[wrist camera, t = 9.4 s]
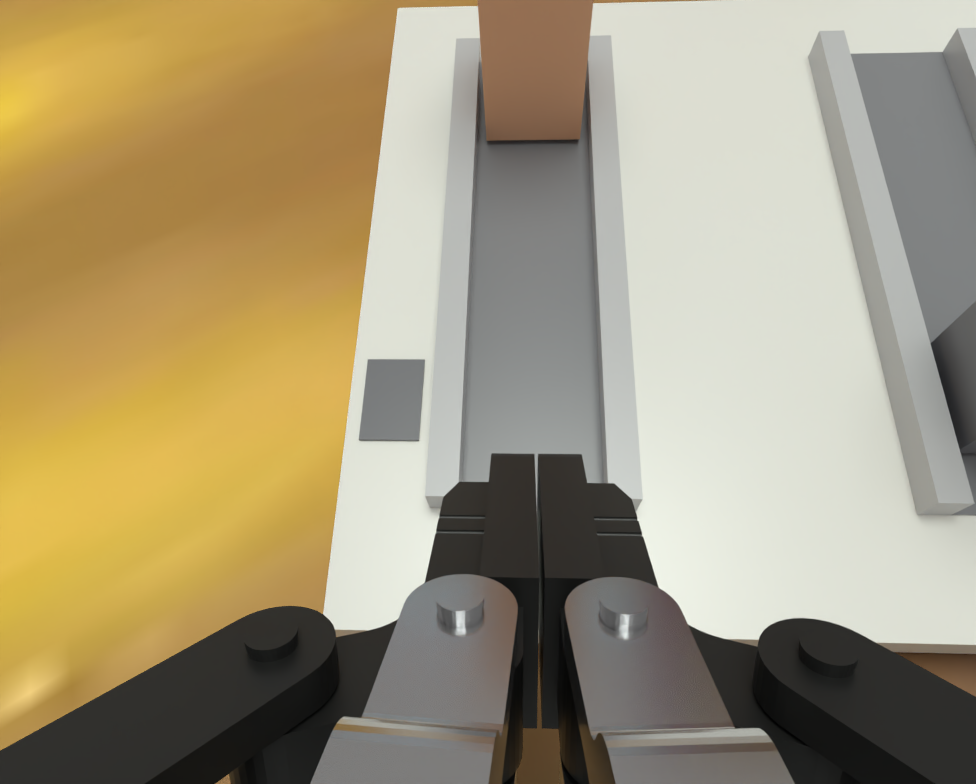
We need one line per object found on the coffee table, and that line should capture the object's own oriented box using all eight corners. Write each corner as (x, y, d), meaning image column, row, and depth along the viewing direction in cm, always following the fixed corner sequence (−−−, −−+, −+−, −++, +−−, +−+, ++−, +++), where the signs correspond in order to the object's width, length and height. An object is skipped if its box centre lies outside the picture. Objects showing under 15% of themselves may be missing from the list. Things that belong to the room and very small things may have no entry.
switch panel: (1221, 659, 17) (1351, 648, 15) (341, 638, 18) (309, 623, 16) (979, 42, 27) (1031, -34, 24) (406, 54, 28) (393, -18, 25)
